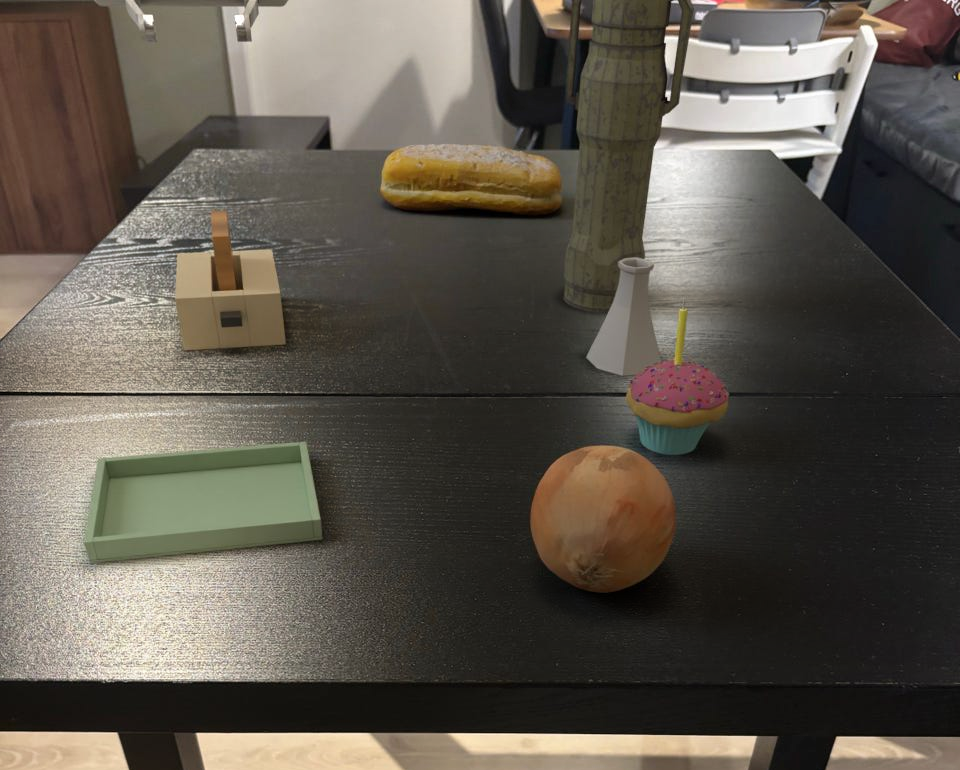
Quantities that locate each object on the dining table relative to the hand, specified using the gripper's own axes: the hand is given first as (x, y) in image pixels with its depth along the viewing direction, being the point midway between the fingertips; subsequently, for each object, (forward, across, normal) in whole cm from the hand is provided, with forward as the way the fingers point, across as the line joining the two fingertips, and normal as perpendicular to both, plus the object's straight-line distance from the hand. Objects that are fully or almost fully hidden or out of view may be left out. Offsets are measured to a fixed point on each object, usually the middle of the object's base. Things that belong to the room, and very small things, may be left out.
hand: (196, 37), depth 95 cm
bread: (-3, +35, +38) cm, 52 cm away
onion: (+64, +23, -28) cm, 74 cm away
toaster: (+28, 0, +7) cm, 29 cm away
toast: (+27, 0, +7) cm, 28 cm away
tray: (+54, -3, -19) cm, 57 cm away
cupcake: (+51, +36, -16) cm, 65 cm away
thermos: (+26, +42, +9) cm, 50 cm away
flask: (+39, +38, -3) cm, 55 cm away
